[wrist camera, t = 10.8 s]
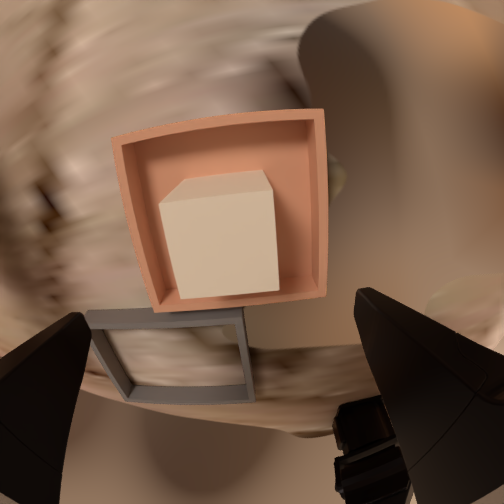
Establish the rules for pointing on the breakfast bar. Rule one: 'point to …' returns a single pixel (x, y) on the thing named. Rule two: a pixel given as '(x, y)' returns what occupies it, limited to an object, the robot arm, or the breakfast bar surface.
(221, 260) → the stone block
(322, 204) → the terracotta tray
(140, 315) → the gray rectangular frame
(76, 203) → the breakfast bar surface
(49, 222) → the breakfast bar surface
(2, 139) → the breakfast bar surface
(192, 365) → the breakfast bar surface
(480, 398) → the robot arm
